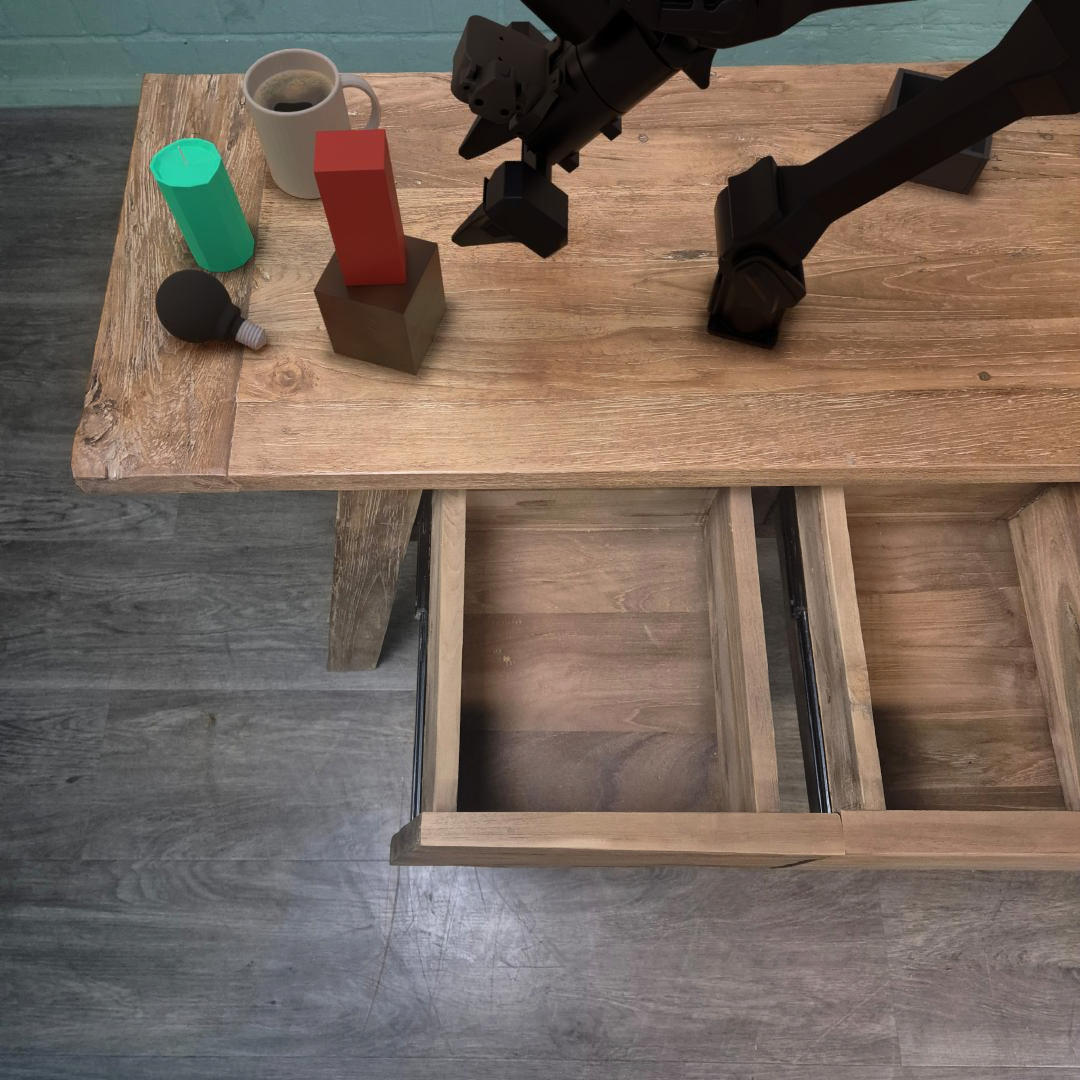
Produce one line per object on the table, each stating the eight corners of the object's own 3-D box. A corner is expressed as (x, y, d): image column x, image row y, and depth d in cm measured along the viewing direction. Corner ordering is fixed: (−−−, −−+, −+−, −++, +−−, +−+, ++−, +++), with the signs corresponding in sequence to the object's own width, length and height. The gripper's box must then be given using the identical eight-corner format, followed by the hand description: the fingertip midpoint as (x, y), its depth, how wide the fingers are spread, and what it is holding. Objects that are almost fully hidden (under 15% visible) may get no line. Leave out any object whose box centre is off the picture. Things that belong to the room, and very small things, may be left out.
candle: (196, 278, 84) (146, 179, 73) (189, 231, 87) (139, 129, 76) (259, 265, 85) (218, 165, 74) (250, 219, 87) (210, 116, 76)
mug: (258, 190, 89) (227, 104, 80) (291, 125, 93) (265, 35, 84) (361, 210, 88) (341, 126, 79) (390, 143, 92) (375, 55, 83)
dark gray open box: (979, 126, 94) (1000, 89, 89) (968, 195, 90) (989, 159, 85) (883, 104, 95) (899, 67, 91) (867, 171, 91) (883, 135, 87)
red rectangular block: (406, 246, 75) (385, 128, 64) (406, 283, 73) (384, 169, 63) (347, 249, 75) (315, 130, 64) (345, 286, 73) (313, 171, 62)
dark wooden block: (446, 308, 83) (438, 243, 75) (415, 375, 80) (403, 314, 72) (367, 286, 84) (350, 220, 76) (333, 352, 81) (313, 290, 73)
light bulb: (257, 343, 76) (143, 286, 74) (246, 387, 81) (139, 335, 79) (287, 297, 80) (180, 241, 78) (275, 342, 85) (173, 291, 83)
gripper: (522, -99, 59) (386, 52, 69) (513, 97, 51) (361, 235, 62) (631, 13, 66) (492, 136, 76) (637, 201, 58) (482, 309, 69)
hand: (459, 197), depth 71 cm, fingers open, 9 cm apart
